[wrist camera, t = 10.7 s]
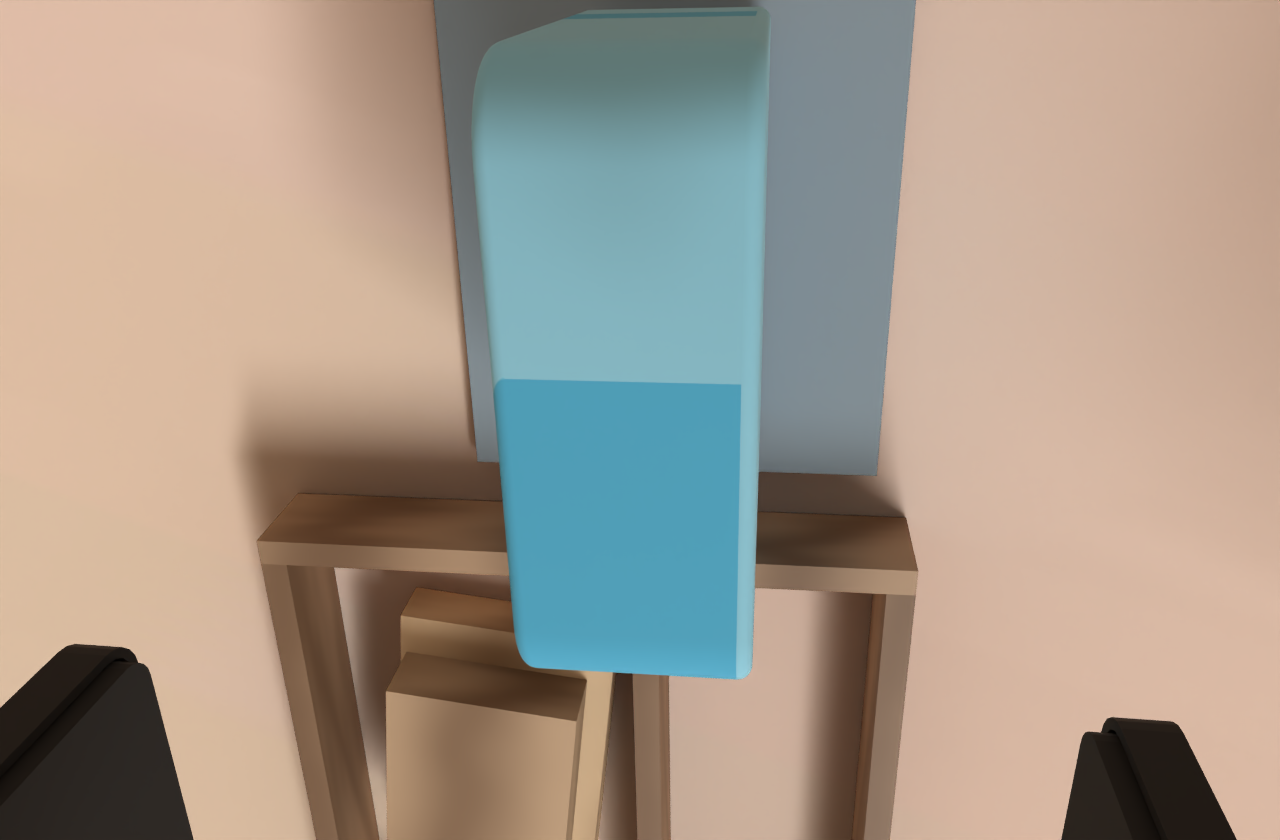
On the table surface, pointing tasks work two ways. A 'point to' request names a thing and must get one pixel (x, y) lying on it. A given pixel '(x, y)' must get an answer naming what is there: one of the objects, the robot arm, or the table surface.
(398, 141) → the table surface
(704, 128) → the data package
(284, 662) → the rack
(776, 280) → the mat
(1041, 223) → the table surface
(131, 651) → the robot arm
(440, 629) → the offcut stack
